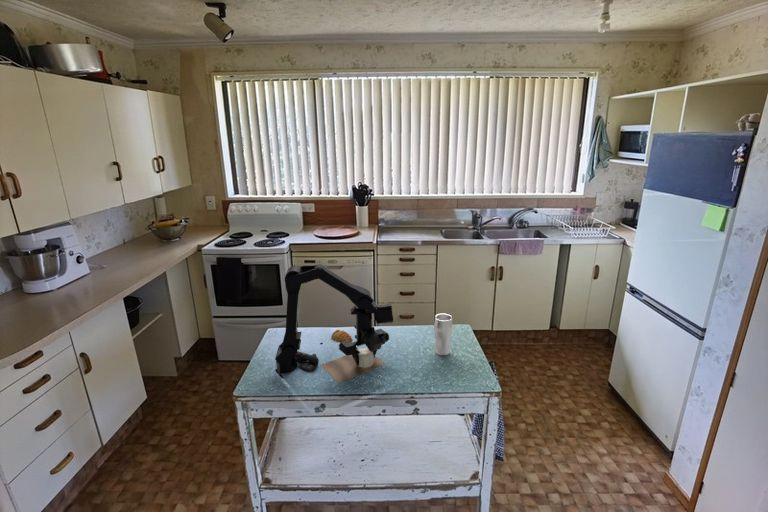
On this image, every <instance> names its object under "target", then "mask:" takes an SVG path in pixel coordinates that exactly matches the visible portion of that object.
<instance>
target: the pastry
mask: <svg viewBox="0 0 768 512" xmlns="http://www.w3.org/2000/svg"><path fill="white" fill-rule="evenodd" d="M331 340H333V341H335V342H338V343H341V342H343V341H346V340H350V341H351V342H353V337H352V336H351V335H350V334H349V333H348V332H347V331H344V330H340V329H336V330H335V331H333V333H332V334H331Z"/></svg>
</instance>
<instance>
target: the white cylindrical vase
mask: <svg viewBox="0 0 768 512" xmlns="http://www.w3.org/2000/svg"><path fill="white" fill-rule="evenodd" d="M433 324H434V325H433V326H434V328H433V331H434V340H435V347H434V354H436V355H437V356H441V355H442V356H441V357H444V356H443V355H446V356H448V355H450V354H449V353H451V348H450V344H451V338H452V333H453V316H452V315H450V314H447V313H437V314H436V315H434V323H433Z"/></svg>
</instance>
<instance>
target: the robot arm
mask: <svg viewBox="0 0 768 512" xmlns="http://www.w3.org/2000/svg"><path fill="white" fill-rule="evenodd" d="M314 280H320V281H322V282H323V283H325V284H327V285H328V286H330V287H331V288H332V289H335V290H337V291H338V292H339V293H341V294H343V295H344V296H346V297H347V298H348V299H349V300H350V301H351V303H352V304H353V305H354V306H353V307H352V308H350V314H351V315H352V316H353V315H355V322H356V323H355V325H354V329H355V330H356V335H354V339H356V341H352V342H351V341H350V340H346V341H343V342H339V344H338V350H339V351H340V352H342V353H343V354H344V356H346V355H352V357H353V359H354V361H355V363H356V365H359V353H360V351H358V350H359V348H358V347H361V346H366V348H368V349H369V351H371V352H373V355H374V357H375V356H377V351H378V350H381V349H382V346H383V345H384V344H386V342H388V341H390V334H389V333H388V332H386V331H385V330H383V329H382V328H377V329H375V327H374V326H373V321H374V322H375V324H392V323H393V322H394V315H393V306H392V303H386V304H377V302H376V301H375V300H374V299H373V298H372V294H371V291H370V290H369V289H367V288H365V287H363V286H360V285H356V284H352V283H351V282H349V281H347V280H345V279H344V278H343V277H341V276H339V275H338V274H336V273H334V272H333V271H332V270H330V269H328V268H327V267H325V266H324V265H323V264H320V263H319V264H314V265H302V266H299V265H296V264H295V265H291V266H289V267H288V269H287V270H286V273H285V276H284V284H285V291H286V293H287V296H286V297H287V299H286V305H287V306H286V317H285V319H286V321H285V331H284V337H283V340H282V342H281V343H280V344H279V345H278V347H277V350H276V355H275V358H274V360H275V364H276V368H275V372H276V373H277V375H278V376H279V377H280V379H284V377H283V375H282V374H285V375H286V374H290V373H292V372H293V371H295V370H296V369H297V368H299V365H298V362H297V358H296V357H295V355H296V354H297V351H300V349H301V343H302V340H301V338H302V337H301V336H302V331H298V313H299V298H300V291H301V287H302V285H303V284H306V283H309V282H312V281H314Z"/></svg>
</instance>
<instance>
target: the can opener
mask: <svg viewBox="0 0 768 512" xmlns="http://www.w3.org/2000/svg"><path fill="white" fill-rule="evenodd" d="M295 357H296V358H297V363H300V365H298V368H299V369H301V370H302V371H306V372H308V373H312V372H314V371H316V367H318V365H319V361H320V360H319V357H317V354H316V353H312V354H309V353H305V352H302V351H300V350H298V351H297V354H296V355H295Z"/></svg>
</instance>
